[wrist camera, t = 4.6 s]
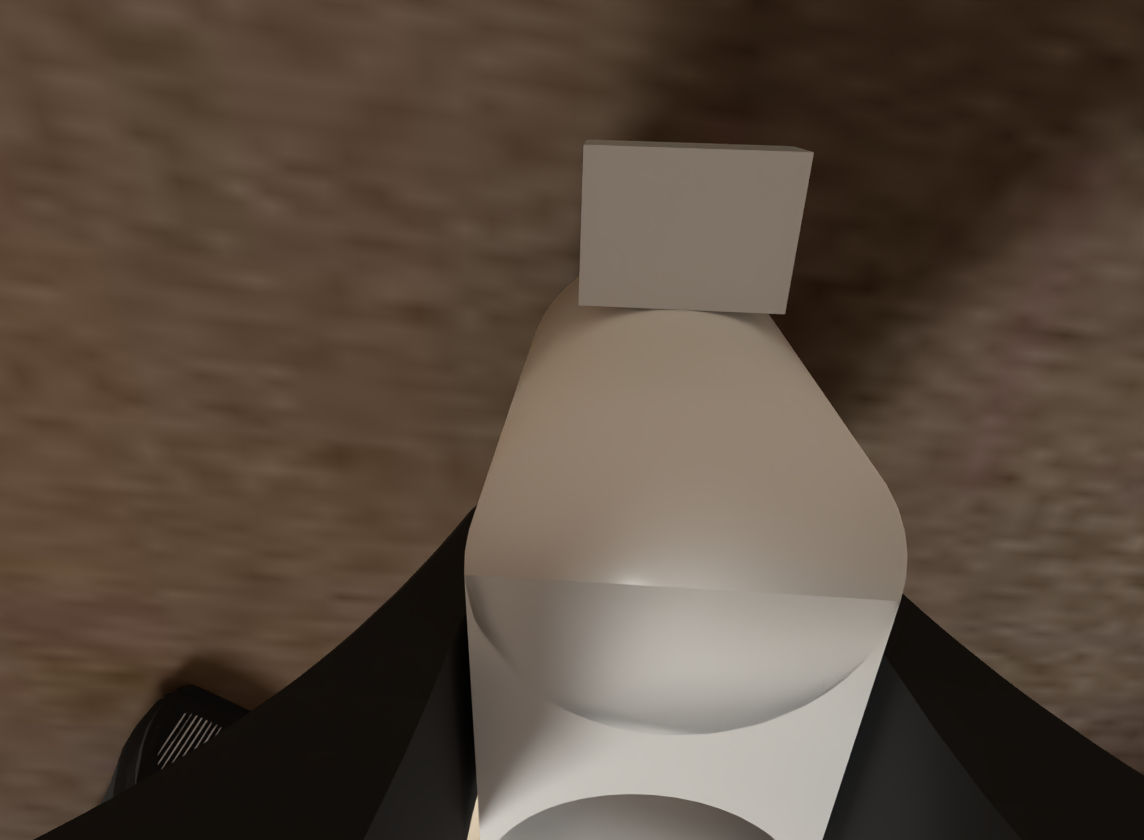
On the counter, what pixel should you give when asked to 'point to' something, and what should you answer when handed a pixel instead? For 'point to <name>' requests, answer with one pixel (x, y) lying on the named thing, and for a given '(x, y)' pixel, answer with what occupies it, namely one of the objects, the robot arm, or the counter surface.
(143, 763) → the electric trimmer
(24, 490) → the counter surface
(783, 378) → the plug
